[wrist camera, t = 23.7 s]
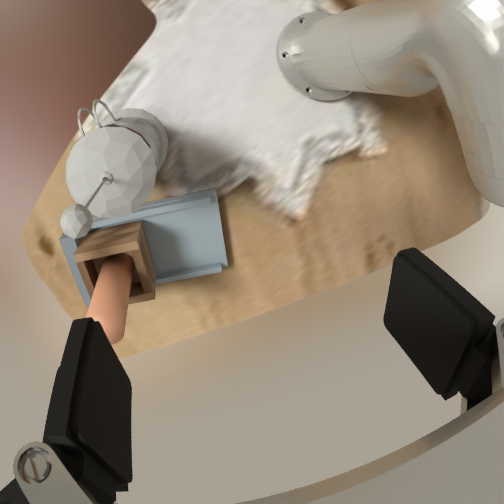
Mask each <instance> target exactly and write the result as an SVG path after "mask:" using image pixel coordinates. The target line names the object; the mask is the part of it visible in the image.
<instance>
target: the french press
mask: <svg viewBox="0 0 504 504" xmlns="http://www.w3.org/2000/svg"><path fill="white" fill-rule="evenodd" d="M96 102H99V103H101V104H102V105H103V106H104V107H105V108H106V110H107V111H108V112H109V114H110V116H109V117H108V118H107V119H105V120H104V121H103V122H102V123H101V124H100V122H99V120H98V118H97V115H96ZM83 110H85V111H87V112H89V113H90V114H91V115H92V116H93V118H94V119H95V120H96V123H97V125H98V127H99V128H98V129H96V130H94V131H91V132H89V133H87V134H86V135H85V134H84V131H83V129H82V126H81V121H80V114H81V111H83ZM93 113H94V114H93ZM93 113H92V112H91V111H90V110H89V109H87V108H81V109H80V110H79V111H78V125H79V128H80V131H81V134H82V136H83V138H82V139H80V140H79V141H78V142H77V143H76V144H75V145H74V147H73V149H72V151H71V153H70V155H69V157H68V160H67V162H66V182H67V185H68V188H69V191H70V194H71V196H72V198H73V199H74V200H75V201H76V202H77V203H78V204H73V205H71V206H69V207H68V208H66V209H65V210H64V213H63V215H62V218H61V221H60V225H61V227H62V229H63V231H64V234H65V235H67V236H69V237H71V238H73V239H77V238H81V237H84V236H86V235H87V233H88V232H89V230H90V229H91V226H92V223H93V218H92V214H93V215H95V216H97V217H102V218H118V217H122V216H125V215H128V214H131V213H133V212H134V211H135V210H137V209H138V208H139V207H140V206H142V205H143V204H144V203H146V201H147V199H148V197H149V195H150V194H151V192H152V190H153V188H154V186H155V178H156V173H157V172H158V171H159V170H160V168H161V166H162V165H163V163H164V161H165V160H166V158H167V151H168V145H169V142H168V138H167V134H166V130H165V128H164V126H163V125H162V124H161V122H160V121H159V120H158V119H157V117H156V116H154V115H152V114H150V113H148V112H146V111H145V110H143V109H130V108H127V109H124V110H121V111H118V112H115V113H111V112H110V110H109V109H108V107H107V105H106V104H105V103H103V102H102V101H101V100H100V99H96V100H94V102H93Z"/></svg>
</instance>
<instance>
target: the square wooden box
mask: <svg viewBox="0 0 504 504" xmlns="http://www.w3.org/2000/svg"><path fill="white" fill-rule="evenodd" d="M118 253H125V254H127V255H128V256H129V257H130V258H131V259H132V261H133V264H134V270H133V275H132V281H131V288H130V294H129V301H128V304H133V303H138V302H143V301H148V300H153V299H155V285H156V271H155V267H154V264H153V260H152V257H151V253H150V250H149V246H148V242H147V239H146V235H145V231H144V227H143V223H142V220H137V221H133V222H128V223H124V224H119V225H115V226H110V227H106V228H102V229H98V230H93V231H89V232H88V233H87V235H86V236H84V237H82V239H81V241H80V243H79V245H78V247H77V249H76V251H75V252H74V254H73V256H74V259H75V261H76V264H77V267H78V269H79V272H80V274H81V277H82V279H83V282H84V284H85V286H86V289H87V291H88V294H89V296H90V298H91V299H92V296H93V292H94V289H95V286H96V283H97V280H98V276H99V273H100V270H101V267H102V264H103V261H104V259H105V257H106V256H109V255H113V254H118Z"/></svg>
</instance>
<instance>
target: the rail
mask: <svg viewBox="0 0 504 504" xmlns="http://www.w3.org/2000/svg"><path fill="white" fill-rule="evenodd" d="M92 218H93V223H92V226H91V229H90V230H89V231H93V230H98V229H102V228H106V227H110V226H115V225H119V224H124V223H128V222H133V221H137V220H142V223H143V227H144V231H145V235H146V239H147V242H148V246H149V250H150V253H151V257H152V260H153V264H154V267H155V271H156V285H159V284H164V283H169V282H174V281H179V280H184V279H189V278H194V277H199V276H203V275H208V274H213V273H218V272H222V268H223V267H228V263H227V257H226V251H225V244H224V238H223V231H222V225H221V218H220V212H219V205H218V198H217V192H216V190H215V189H212V190H206V191H201V192H196V193H191V194H185V195H180V196H175V197H170V198H165V199H161V200H156V201H151V202H147V203H144V204H143V205H142V206H140V207H139V208H138V209H137V210H135V211H134V212H133V213H131V214H128V215H125V216H122V217H118V218H102V217H97V216H95V215H92ZM81 239H82V237H81V238H77V239H73V238H71V237H69V236H67V235H65V234H64V233H63V234H62V236H61V238H60V239H59V240H60V243H61V246H62V249H63V251H64V254H65V257H66V259H67V262H68V264H69V267H70V269H71V272H72V274H73V277H74V279H75V281H76V284H77V286H78V288H79V291H80V293H81V295H82V298H83V300H84V302H85V304H86V306H87V309H89V306H90V302H91V298H90V296H89V294H88V291H87V289H86V286H85V284H84V282H83V279H82V277H81V274H80V272H79V269H78V267H77V264H76V261H75V259H74V256H73V254H74V252H75V251H76V249H77V247H78V245H79V243H80V241H81Z"/></svg>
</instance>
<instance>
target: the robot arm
mask: <svg viewBox="0 0 504 504" xmlns="http://www.w3.org/2000/svg"><path fill="white" fill-rule="evenodd" d="M299 20H300V21H302V23H300V21H299ZM282 54H284V55H285V57H283V56H282ZM277 59H278V63H279V67H280V69H281V71H282V73H283V75H284V77H285V78H286V80H287V81H288V83H289V84H290V85H291V86H292V87H293V88H294V89H296V90H297V91H298V92H300V93H301V94H303V95H305V96H307V97H309V98H313V99H317V100H323V101H333V100H337V99H341V98H343V97H346V96H348V95H349V94H351V93H352V92H353V91H356V92H367V93H376V94H385V95H393V96H401V97H416V96H421V95H424V94H426V93H428V92H430V91H432V90H434V89H435V88H436V87H437V86H440V88H441V90H442V92H443V95H444V98H445V100H446V103H447V106H448V108H449V109H450V112H451V115H452V118H453V121H454V124H455V127H456V130H457V134H458V137H459V140H460V144H461V148H462V151H463V155H464V159H465V163H466V166H467V169H468V172H469V175H470V178H471V180H472V182H473V184H474V186H475V187H476V189H477V190H478V191H479V193H480V194H481V195H482V196H483V197H485V198H486V199H487V200H488V201H490V202H492V203H494V204H496V205H498V206H501V207H504V0H376V1H373V2H370V3H366V4H363V5H360V6H357V7H354V8H351V9H348V10H345V11H342V12H339V13H337V14H331V13H327V12H310V13H305V14H303V15H300V16H298V17H297V18H295V19H293V20H292V21H291V22H290V23H289V24H287V25H286V27H285V28H284V30H283V31H282V33H281V35H280V37H279V40H278V45H277ZM306 88H307V89H308V92H306ZM494 319H495V316H494V315H493V314H492V313H491V312H490V311H489V310H488V309H486V307H484V306H483V305H482V304H481V303H480V302H479V301H478V300H477V299H476V298H475V297H473V296H472V295H471V294H470V293H469V292H468V291H467V290H466V289H465V288H463V287H462V286H461V285H460V284H459V283H458V282H456V281H455V280H454V279H453V278H452V277H451V276H449V275H448V274H447V273H446V272H445V271H444V270H442V269H441V268H440V267H439V266H438V265H436V264H435V263H434V262H433V261H431V260H430V259H429V258H428V257H427V256H425V255H424V254H423V253H422V252H420V251H419V250H418V249H416V248H409V249H405V250H401V251H399V252H398V253H397V256H396V257H395V258H394V261H393V267H392V274H391V280H390V286H389V292H388V297H387V303H386V309H385V314H384V325H385V327H386V329H387V330H388V331H389V332H390V334H391V335H392V336H393V337H394V338H395V340H396V341H397V342H398V344H399V345H400V346H401V348H402V349H403V350H404V351H405V353H406V354H407V355H408V357H409V358H410V359H411V361H412V362H413V363H414V364H415V366H416V367H417V368H418V370H419V371H420V372H421V373H422V375H423V376H424V378H425V379H426V380H427V382H428V383H429V384H430V386H431V387H432V388H433V390H434V391H435V392H436V393H437V394H441V396H442V397H443V398H444V400H447V399H449V398H451V397H453V396H454V395H456V394H457V393H458V391H459V392H460V393H461V395H462V399H461V414H460V416H459V417H457V418H455V419H454V420H452V421H450V422H449V423H447V424H445V425H444V426H442V427H440V428H438V429H437V430H435V431H433V432H431V433H430V434H428V435H426V436H424V437H422V438H420V439H418V440H417V441H415V442H413V443H411V444H409V445H407V446H405V447H403V448H401V449H399V450H397V451H395V452H393V453H390V454H388V455H386V456H384V457H381V458H379V459H377V460H375V461H372V462H370V463H368V464H365V465H363V466H360V467H358V468H356V469H353V470H350V471H348V472H345V473H343V474H340V475H338V476H334V477H332V478H329V479H326V480H323V481H320V482H317V483H314V484H311V485H308V486H305V487H301V488H298V489H294V490H291V491H288V492H284V493H280V494H276V495H272V496H268V497H264V498H260V499H256V500H252V501H247V502H242V503H237V504H504V318H502V319H501V320H499V321H498V323H497V325H496V327H495V326H494V325H493V321H494ZM131 399H132V387H131V382H130V380H129V377H128V376H127V374H126V372H125V370H124V368H123V366H122V365H121V363H120V361H119V359H118V357H117V355H116V353H115V351H114V349H113V348H112V346H111V344H110V342H109V340H108V338H107V336H106V334H105V331H104V329H103V327H102V325H101V323H100V322H99V321H94V319H93V318H92V317H88V318H82V319H76V320H74V321H73V323H72V325H71V329H70V332H69V336H68V339H67V343H66V346H65V350H64V354H63V357H62V361H61V365H60V367H59V368H58V370H57V374H56V378H55V382H54V386H53V391H52V395H51V399H50V405H49V409H48V414H47V420H46V425H45V431H44V436H43V442H32V443H29V444H27V445H25V446H23V447H22V448H21V449H20V450H19V451H18V453H17V455H16V457H15V460H14V464H13V470H14V475H15V479H14V480H12V481H11V482H10V483H9V484H8V485H7V486H6V487H5V488H3V489H2V490H1V491H0V504H117V503H116V502H115V501H116V492H117V491H118V492H120V491H121V492H122V491H128V483H130V482H132V451H131V450H132V449H131Z"/></svg>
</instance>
